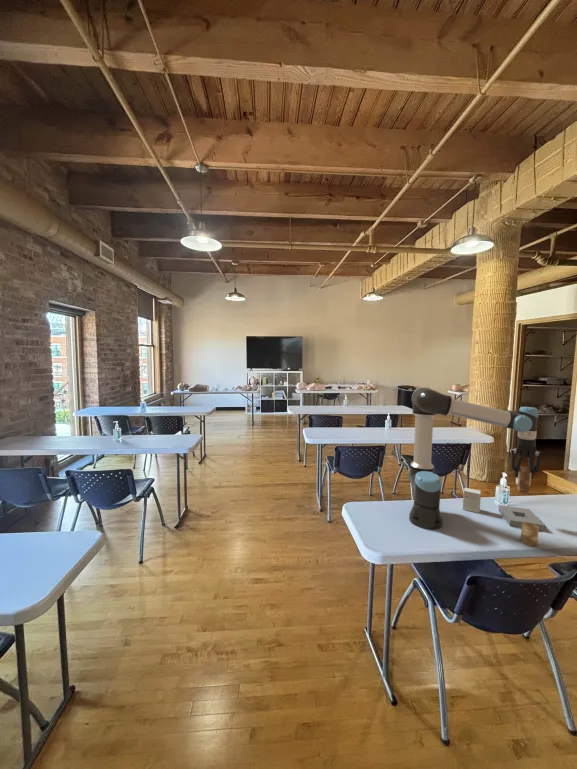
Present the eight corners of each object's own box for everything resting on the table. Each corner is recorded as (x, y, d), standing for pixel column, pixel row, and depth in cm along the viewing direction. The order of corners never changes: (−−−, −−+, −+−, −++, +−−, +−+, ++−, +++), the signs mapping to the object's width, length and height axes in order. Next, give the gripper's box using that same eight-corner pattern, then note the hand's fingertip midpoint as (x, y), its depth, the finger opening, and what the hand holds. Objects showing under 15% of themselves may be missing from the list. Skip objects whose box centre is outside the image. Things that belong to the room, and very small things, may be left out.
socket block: (509, 526, 163) (510, 520, 163) (498, 510, 180) (498, 505, 180) (543, 531, 159) (544, 525, 159) (528, 514, 176) (529, 509, 176)
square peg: (519, 492, 167) (521, 468, 166) (516, 489, 171) (518, 466, 170) (528, 493, 166) (530, 469, 165) (525, 490, 170) (527, 467, 169)
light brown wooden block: (523, 545, 146) (524, 527, 145) (518, 538, 152) (520, 521, 151) (539, 548, 144) (541, 529, 144) (534, 541, 150) (535, 523, 149)
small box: (479, 509, 181) (481, 490, 180) (479, 513, 176) (480, 493, 175) (463, 505, 185) (464, 487, 184) (462, 509, 180) (463, 490, 179)
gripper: (509, 438, 165) (505, 484, 167) (550, 441, 160) (546, 489, 162) (504, 435, 172) (501, 479, 174) (543, 438, 167) (539, 484, 169)
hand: (522, 484), depth 168 cm, fingers closed on square peg, 4 cm apart
